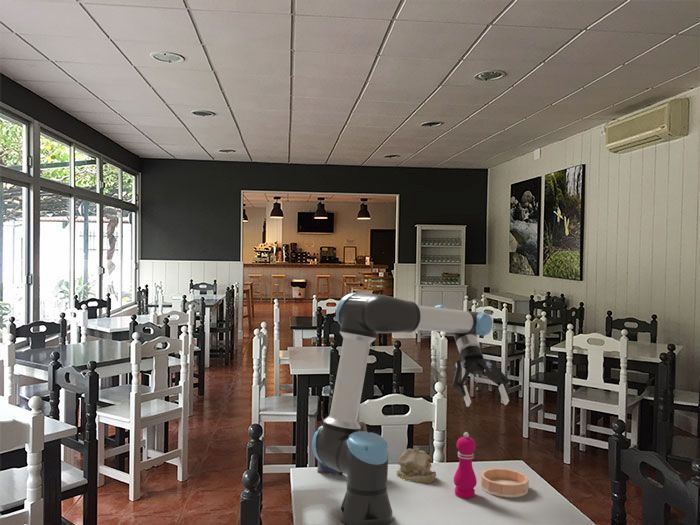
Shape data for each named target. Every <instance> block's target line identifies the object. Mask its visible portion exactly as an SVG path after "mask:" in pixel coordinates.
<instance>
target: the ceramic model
mask: <svg viewBox="0 0 700 525" xmlns="http://www.w3.org/2000/svg"><path fill="white" fill-rule="evenodd" d="M398 465H399V466H400V468H399V469H398V470H396V476H397V477H398V476H399V477H400V478H399V477H398V478H399V479H401V478H402V479H401V480H403V479H405V480H404V481H408V480H410V481H409V482H413V481H416V482H415V483H420V482H422V484H430V483H432V482H434V481H435V480H436V476H437V472H436V471H435V470H433V471H432V470H431V468H432V458H431V456H430V455H429V454H428V453H426V451H424V450H420V449H419V447H417V446H416V447H414V448H407V449H406V450H405V451H404V452H403V453H402V454H400V456H399V458H398Z"/></svg>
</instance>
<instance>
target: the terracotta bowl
mask: <svg viewBox="0 0 700 525" xmlns="http://www.w3.org/2000/svg"><path fill="white" fill-rule="evenodd" d="M479 478H480V480H479V482H480V487H481V489H482V491H484V492H485V493H486V494H489V495H492V496H495V497H500V498H507V499H508V498H509V499H512V498H521V497H524V496H526V495H527V494H528V491H529V486H530V485H529V484H530V483H529V482H530V480H529V478H528V476H527V475H526V474H524V473H522V472H520V471H518V470H514V469H509V468H502V467H501V468H500V467H497V468H496V467H494V468H487V469H484V470H482V471H481V472H480V477H479Z"/></svg>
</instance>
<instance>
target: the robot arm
mask: <svg viewBox="0 0 700 525" xmlns="http://www.w3.org/2000/svg"><path fill="white" fill-rule="evenodd" d="M335 318H336V320H337V323H338V324H339V326H340V327H339V328H340V329H339V333H340V335H341V337H342V343H341V344H342V345H341V348H340V349H341V351H340V357H339V362H338V366H337V372H336V378H335V382H334V383H335V384H334V388H333V395H332V400H331V406H330V410H329V415H328V416H327V417H325V418H324V419H323V421H322V425H321V426H319V427H318V428H317V430H316V431H315V432H314V433H313V434H314V435H313V436H312V440H311V449H312V453H313V455H314V457H315V459H316V460H317V462H318V461H320V462H321V463H323V464H324V465H325V466H327V467H331V468H333V469H335V470H337V471H339V472H342V473H343V474H345V475H346V491H345V494H344V496H343V500H342V503H341V505H340V509H339V511H340V512H339V519H340V521H341V522H342V523H343V524H345V525H390V524H391V523H392V521H393V508H392V505H391V502H390V498H389V494H388V473H389V472H388V471H389V455H390V453H389V448H388V447H389V446H388V442H387V440H386V439H385V438H384V437H383V436H381V435H380V434H377V433H374V432H369V431H367V432H365V431H360V429H361V426H360V425H359V422H358V416H359V412H360V411H359V409H360V404H361V400H362V394H363V388H364V382H365V376H366V372H367V371H366V370H367V365H368V364H367V363H368V359H369V353H370V348H371V344H372V343H373V342H374V341H375V340H377V335H378V334H395V333H398V334H399V333H405V334H406V333H409V334H410V333H411V334H412V333H414V332H416V331H427V332H428V331H429V332H443V333H448V334H450V335H452V336H453V337H454V338H453V339H454V340H455V344H456V347H457V350H458V352H459V356H460V359H461V361H460V360H457V361H456V363H455V365H454V367H455V371H454V376H453V380H452V384H451V387H452V388H456V390H457V391H459V394H460V396H461V398H462V397H463V400H464V402H465V406H466V408H468V407H470V405H471V404H472V400H471V397H470V394H469V391H468V387H467V385H466V384H465V382H466V380H467V379H468V377H469V375H470V374H471V375H472V376H473V375H474V376H475V375H478V376H479V375H480V376H481V375H482V376H484V377H487V378H488V379H490V380H491V382H493V383H495V385H497V386H498V391H499V394H500V397H501V401H502V402H503V405H504V406H507V405H508V404H509V402H510V399H509V396H508V393H509V391H508V388H507V386H508V385H509V383H510V382H511V381H510V379H509V378H508V377H507V376H506V375H505V373H503V372H502V370H500V369H499V367H498V366H497V365H496V363H495V362H494V359H490V360H489V361H486V360H485V358H484V355H483V352H482V349H481V347H480V343H479V341H478V338H477V336H487V335H488V334H490V332H492V330H493V318H492V315H490V314H488V313H486V312H482V311H481V312H480V311H472V310H471V311H468V310H463V309H454V308H453V309H452V308H448V306H445V305H443V304H437V305H435V306H434V307H433V306H426V305H419V304H418V303H416V302H414V301H412V300H411V301H410V300H405V299H404V300H403V299H400V298H398V297H393V296H389V295H387V294H386V295H385V294H378V293H377V294H376V293H367V292H349V293H347V294H345V296H343V297H342V298H341V299H340V300H339V301H338V304H337V306H336V309H335ZM462 368H464V369H465V370H466V371H465V373H464V375H463V377H462V378H461V380H460V382H459V378H460V373H461V369H462Z"/></svg>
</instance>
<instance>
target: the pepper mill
mask: <svg viewBox="0 0 700 525" xmlns="http://www.w3.org/2000/svg"><path fill="white" fill-rule="evenodd" d="M456 449H457V450H458V451H457V457H458V460H459V462H458V467H457V469H456V471H455V473H454V476H453V484H454V485H455V488H454V495H455V496H456V497H458V498H460V499H461V498H462V499H473V498H474V497H475V496H476V495H475V494H476V490H475V487H476V486H477V484H478V483H477V476H476V474H475V471H474V468H473V459H474V458H475V457H474V456H475V454H474V451H475V450H476V442H475V440H474V439H473V438H472V437H470V434H469V432H467V431H465V432H464V433H463V436H461V437H460V438H458V439H457V441H456Z"/></svg>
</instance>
